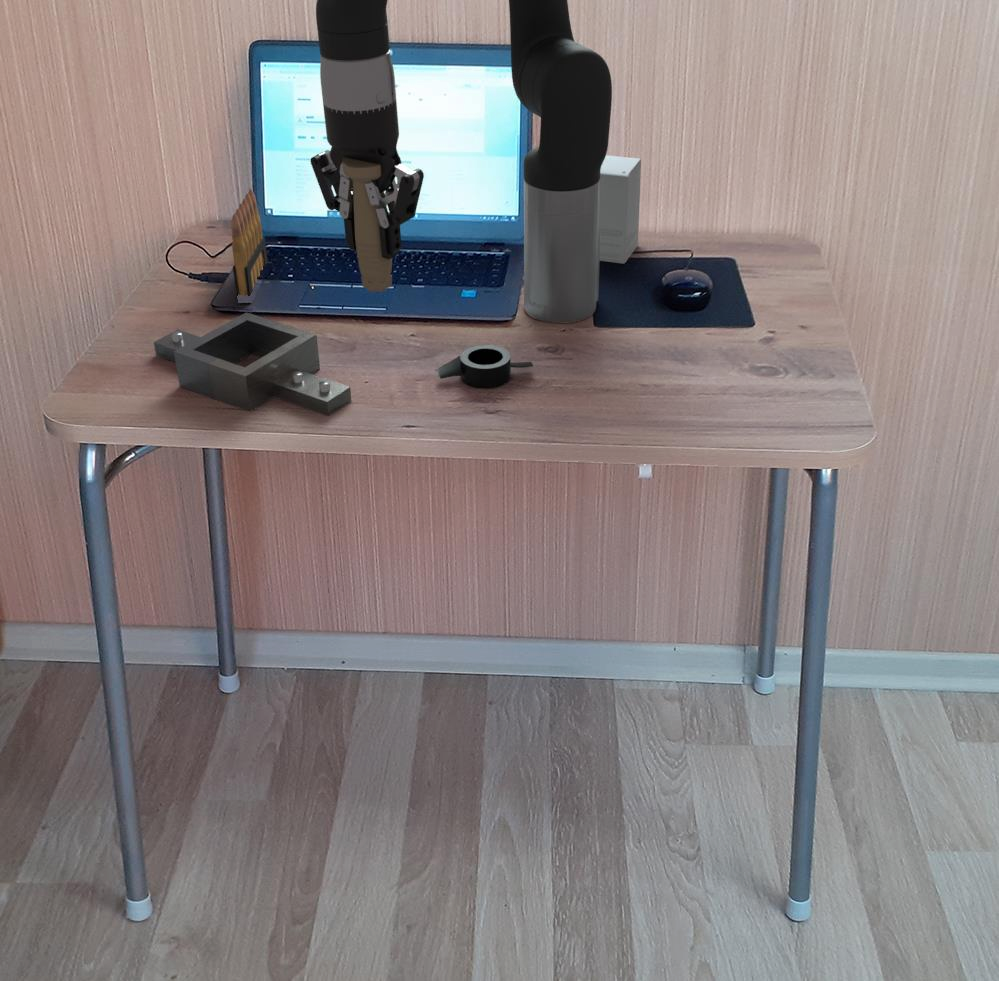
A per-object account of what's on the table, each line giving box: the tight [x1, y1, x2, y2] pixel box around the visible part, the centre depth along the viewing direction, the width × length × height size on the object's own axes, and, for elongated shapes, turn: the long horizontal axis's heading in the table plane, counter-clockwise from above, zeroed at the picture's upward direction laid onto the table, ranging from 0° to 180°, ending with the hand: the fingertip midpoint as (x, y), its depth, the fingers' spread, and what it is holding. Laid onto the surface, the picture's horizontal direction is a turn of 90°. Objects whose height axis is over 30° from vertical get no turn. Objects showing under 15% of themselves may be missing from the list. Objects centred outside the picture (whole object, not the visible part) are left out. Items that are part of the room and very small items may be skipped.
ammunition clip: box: [231, 188, 269, 297], centre depth 170 cm, size 11×2×12 cm, turn 176°
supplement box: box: [598, 154, 642, 265], centre depth 178 cm, size 7×7×13 cm
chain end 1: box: [153, 312, 281, 400], centre depth 154 cm, size 14×12×4 cm
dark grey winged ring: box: [437, 344, 534, 390], centre depth 151 cm, size 8×10×3 cm
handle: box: [342, 157, 393, 293], centre depth 141 cm, size 5×6×15 cm
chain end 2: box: [209, 322, 352, 417], centre depth 148 cm, size 14×12×4 cm
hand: (374, 251), depth 143 cm, fingers closed on handle, 4 cm apart
